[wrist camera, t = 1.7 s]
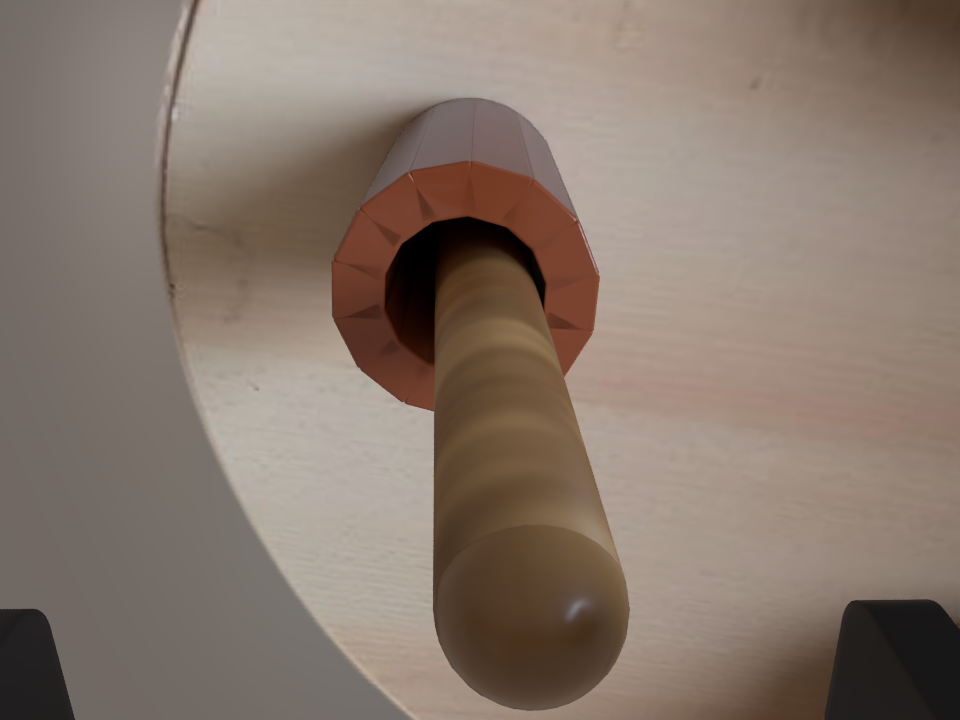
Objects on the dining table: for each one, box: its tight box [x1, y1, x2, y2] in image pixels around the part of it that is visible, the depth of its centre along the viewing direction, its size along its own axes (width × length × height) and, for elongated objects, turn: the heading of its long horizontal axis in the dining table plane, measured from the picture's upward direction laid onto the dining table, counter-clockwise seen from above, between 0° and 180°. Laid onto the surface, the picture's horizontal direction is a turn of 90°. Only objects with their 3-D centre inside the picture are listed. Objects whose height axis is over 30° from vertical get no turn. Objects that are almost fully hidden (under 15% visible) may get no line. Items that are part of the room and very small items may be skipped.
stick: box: [433, 217, 630, 711], centre depth 20 cm, size 2×2×22 cm
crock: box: [332, 98, 600, 411], centre depth 25 cm, size 6×6×12 cm
